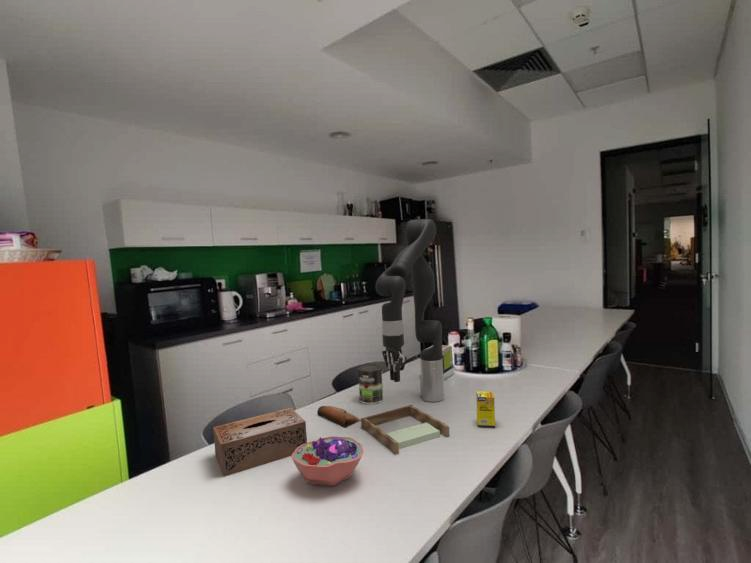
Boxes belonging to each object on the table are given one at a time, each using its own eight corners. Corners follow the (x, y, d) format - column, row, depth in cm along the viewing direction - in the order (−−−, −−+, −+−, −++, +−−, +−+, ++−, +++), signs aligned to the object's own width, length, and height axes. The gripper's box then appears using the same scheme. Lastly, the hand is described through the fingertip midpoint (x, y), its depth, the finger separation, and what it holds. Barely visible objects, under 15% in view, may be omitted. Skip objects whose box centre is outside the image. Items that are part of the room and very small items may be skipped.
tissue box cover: (223, 477, 115) (220, 444, 114) (215, 457, 127) (213, 427, 127) (307, 451, 128) (305, 421, 127) (292, 435, 140) (291, 407, 140)
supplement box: (495, 428, 137) (494, 397, 136) (477, 427, 138) (476, 396, 137) (494, 420, 143) (493, 391, 142) (476, 420, 144) (475, 390, 143)
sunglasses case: (363, 420, 149) (355, 407, 146) (351, 434, 145) (342, 422, 142) (334, 408, 162) (326, 397, 159) (322, 421, 158) (314, 410, 156)
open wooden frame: (361, 427, 142) (360, 418, 142) (412, 413, 153) (411, 404, 153) (394, 454, 122) (394, 443, 122) (450, 435, 133) (450, 425, 133)
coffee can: (378, 405, 163) (376, 372, 162) (355, 403, 167) (353, 370, 166) (387, 396, 172) (385, 365, 171) (365, 394, 176) (363, 363, 175)
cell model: (301, 464, 120) (298, 427, 119) (366, 462, 119) (364, 425, 118) (286, 498, 103) (283, 456, 102) (363, 496, 102) (361, 454, 101)
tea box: (436, 371, 204) (434, 343, 203) (454, 374, 198) (453, 345, 197) (421, 380, 192) (420, 350, 191) (440, 383, 186) (439, 352, 185)
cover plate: (386, 440, 133) (386, 433, 133) (426, 429, 140) (426, 422, 140) (398, 450, 126) (398, 443, 126) (440, 438, 133) (439, 431, 133)
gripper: (374, 331, 143) (376, 378, 145) (393, 337, 131) (396, 388, 133) (391, 328, 147) (394, 374, 148) (412, 334, 135) (415, 383, 136)
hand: (395, 380), depth 140 cm, fingers closed
